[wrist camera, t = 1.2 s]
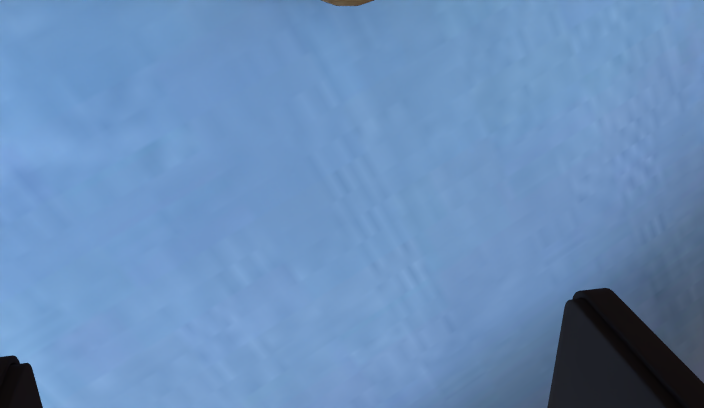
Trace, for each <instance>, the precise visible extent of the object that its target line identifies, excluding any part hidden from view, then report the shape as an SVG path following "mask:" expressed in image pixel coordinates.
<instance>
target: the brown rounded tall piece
mask: <svg viewBox="0 0 704 408" xmlns="http://www.w3.org/2000/svg"><path fill="white" fill-rule="evenodd" d="M321 1H324V2H327V3H330V4H333V5H336V6H359V5H362V4H365V3H368V2H371V1H374V0H321Z"/></svg>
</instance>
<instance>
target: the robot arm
mask: <svg viewBox="0 0 704 408" xmlns="http://www.w3.org/2000/svg"><path fill="white" fill-rule="evenodd" d="M0 408H43V407H42V403H41V400H40V396H39V392H38V388H37V385H36V381H35V377H34V374H33V370H32V367H31V365H30V364H29V363H23V364H20V363H19V360H18V359H17V357H16V356H5V357H0ZM548 408H704V383H703V382H702V381H701V380H700V379H699V378H698V377H697V376H696V375H695V374H694V373H693V372H692V371H691V370H690V369H689V368H688V367H687V366H686V365H685V364H684V363H683V362H682V361H681V360H680V359H679V358H678V357H677V356H676V355H675V354H674V353H673V352H672V351H671V350H670V349H669V348H668V347H667V346H666V345H665V344H664V343H663V342H662V341H661V340H660V339H659V338H658V337H657V336H656V335H655V334H654V333H653V332H652V331H651V330H650V329H649V328H648V326H647V325H646V324H645V323H644V322H643V321H642V320H641V319H640V318H639V317H638V316H637V315H636V314H635V313H634V312H633V311H632V310H631V309H630V308H629V307H628V306H627V305H626V304H625V303H624V302H623V301H622V300H621V299H620V298H619V297H618V296H617V295H616V294H615V293H614V292H613V291H612V290H610V289H608V288H601V289H592V290H583V291H578V292H576V293H575V294H574V296H573V299H572V300H569V301H567V303H566V304H565V308H564V314H563V320H562V326H561V332H560V338H559V344H558V349H557V355H556V361H555V367H554V373H553V379H552V385H551V391H550V396H549V402H548Z"/></svg>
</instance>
